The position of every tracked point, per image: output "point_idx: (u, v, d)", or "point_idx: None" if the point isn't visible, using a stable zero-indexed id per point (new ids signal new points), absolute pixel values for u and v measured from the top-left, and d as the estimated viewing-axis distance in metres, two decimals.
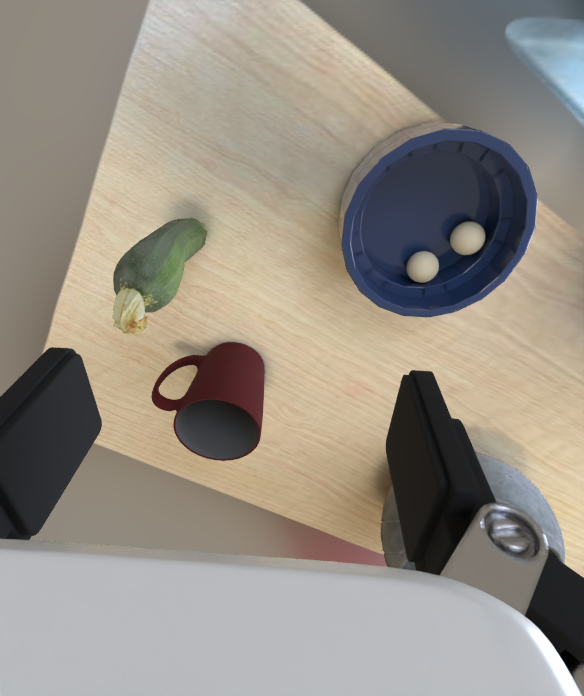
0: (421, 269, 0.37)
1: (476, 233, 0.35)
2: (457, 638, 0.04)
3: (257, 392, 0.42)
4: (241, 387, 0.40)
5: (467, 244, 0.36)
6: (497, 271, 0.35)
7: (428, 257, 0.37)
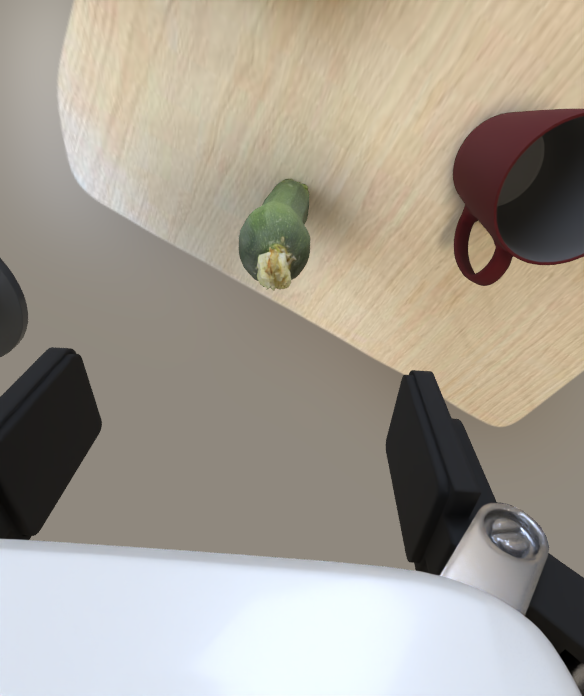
0: None
1: None
2: (457, 638, 0.04)
3: (528, 118, 0.25)
4: (503, 145, 0.25)
5: None
6: None
7: None
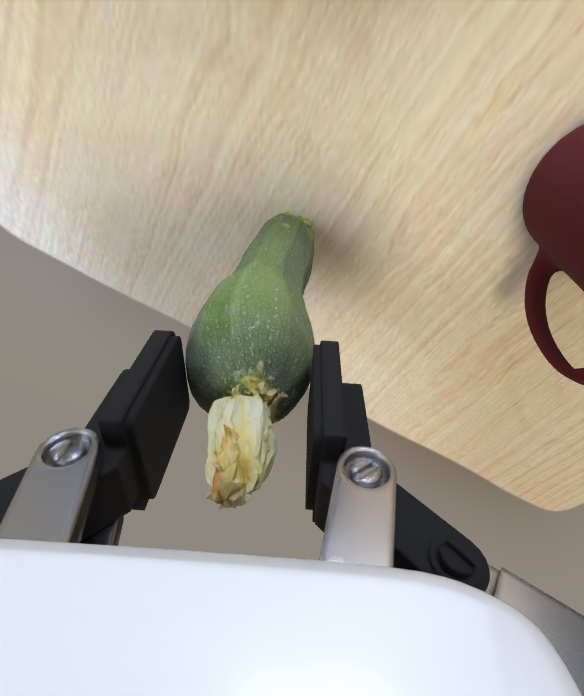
0: None
1: None
2: (457, 638, 0.04)
3: None
4: None
5: None
6: None
7: None
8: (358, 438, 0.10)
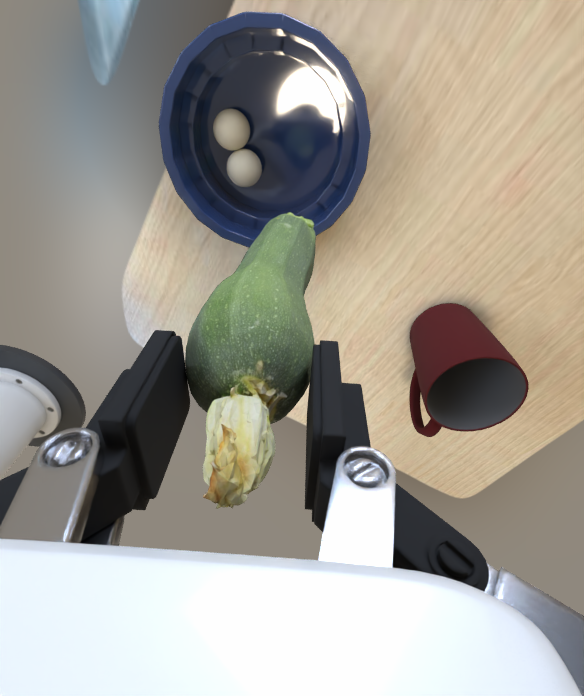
0: (253, 154, 0.33)
1: None
2: (457, 638, 0.04)
3: (449, 337, 0.37)
4: (432, 357, 0.37)
5: None
6: (310, 43, 0.26)
7: (239, 154, 0.32)
8: (357, 438, 0.10)
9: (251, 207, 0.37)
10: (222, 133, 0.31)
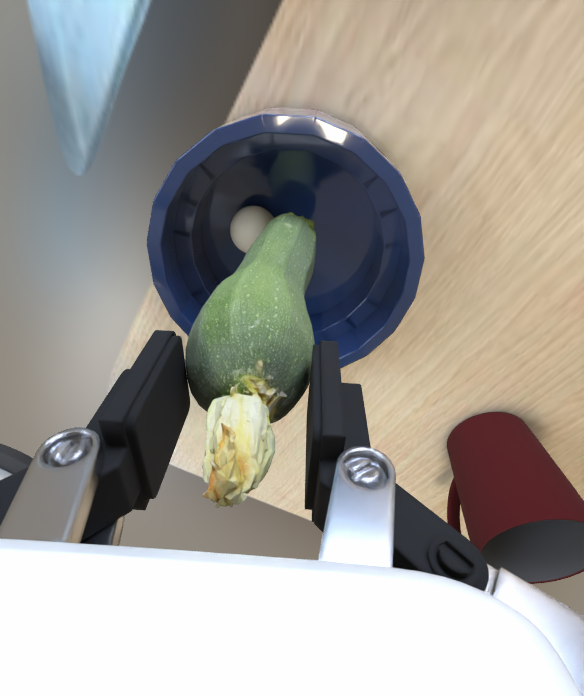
0: None
1: None
2: (457, 638, 0.04)
3: (506, 475, 0.30)
4: (485, 499, 0.30)
5: None
6: None
7: None
8: (357, 438, 0.10)
9: None
10: (256, 234, 0.24)
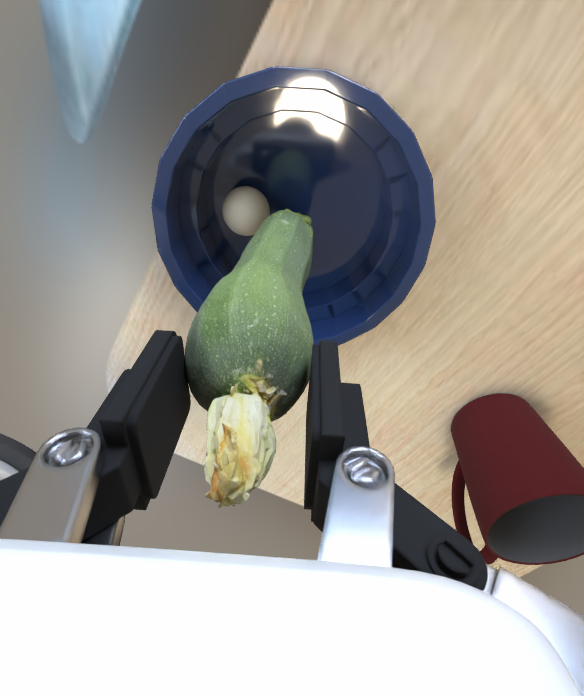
0: None
1: None
2: (457, 638, 0.04)
3: (514, 453, 0.30)
4: (492, 478, 0.29)
5: None
6: None
7: None
8: (357, 438, 0.10)
9: None
10: (235, 225, 0.24)
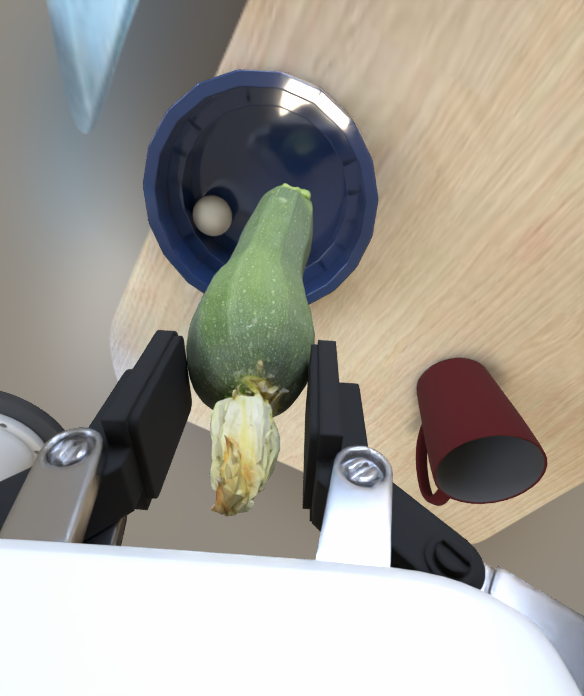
0: None
1: (222, 212, 0.30)
2: (457, 638, 0.04)
3: (461, 405, 0.34)
4: (442, 426, 0.34)
5: (227, 204, 0.30)
6: None
7: None
8: (355, 437, 0.10)
9: None
10: None
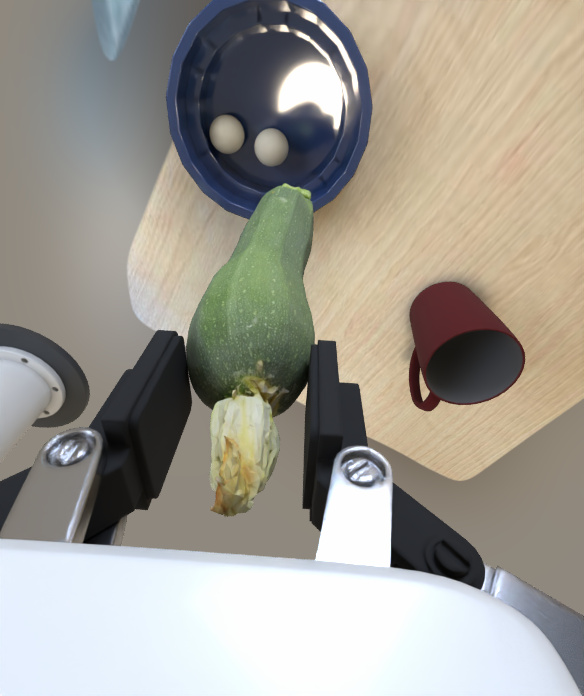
0: None
1: (238, 128, 0.33)
2: (458, 638, 0.04)
3: (448, 312, 0.37)
4: (431, 331, 0.37)
5: None
6: (314, 15, 0.27)
7: (280, 137, 0.34)
8: (355, 437, 0.10)
9: (255, 183, 0.38)
10: None
